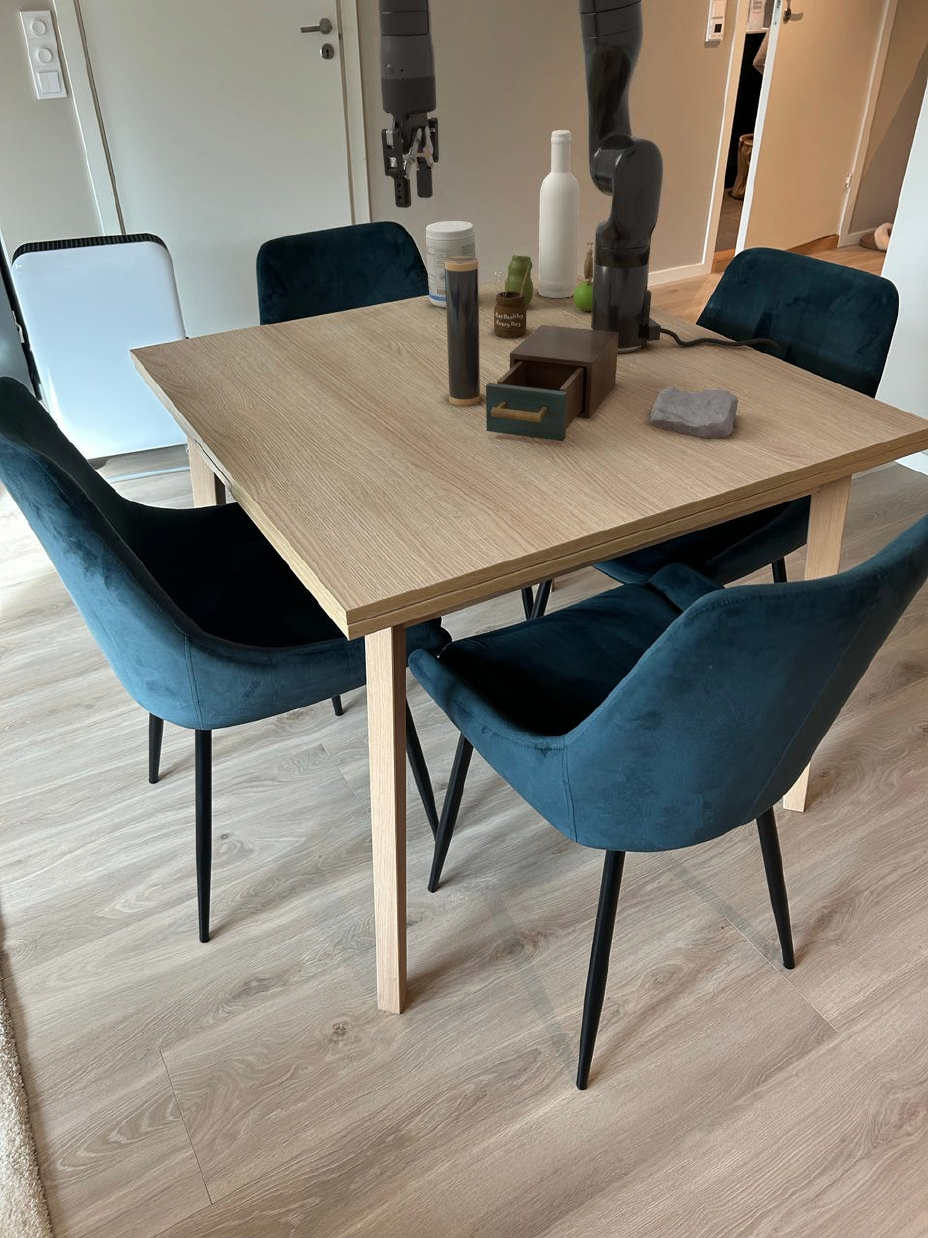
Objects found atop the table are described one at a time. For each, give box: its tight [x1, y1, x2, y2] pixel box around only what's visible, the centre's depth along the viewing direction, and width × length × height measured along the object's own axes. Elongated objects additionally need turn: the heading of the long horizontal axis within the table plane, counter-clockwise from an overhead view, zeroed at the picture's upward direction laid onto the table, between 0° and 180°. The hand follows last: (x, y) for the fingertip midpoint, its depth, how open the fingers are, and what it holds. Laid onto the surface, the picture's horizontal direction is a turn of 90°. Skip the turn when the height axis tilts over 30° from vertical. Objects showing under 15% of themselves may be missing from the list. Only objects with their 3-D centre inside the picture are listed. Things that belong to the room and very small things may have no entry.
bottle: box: [537, 129, 581, 299], centre depth 192 cm, size 8×8×30 cm
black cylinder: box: [444, 256, 482, 407], centre depth 146 cm, size 5×5×21 cm
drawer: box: [485, 360, 587, 442], centre depth 138 cm, size 17×11×7 cm, turn 158°
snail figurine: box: [572, 241, 594, 312], centre depth 186 cm, size 5×6×12 cm
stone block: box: [650, 386, 739, 439], centre depth 140 cm, size 12×5×10 cm
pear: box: [504, 254, 534, 307], centre depth 190 cm, size 6×5×10 cm
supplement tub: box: [425, 220, 476, 309], centre depth 192 cm, size 10×10×15 cm
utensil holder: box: [493, 265, 529, 339], centre depth 175 cm, size 6×6×12 cm
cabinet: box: [509, 324, 619, 420], centre depth 149 cm, size 15×13×9 cm
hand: (414, 201), depth 142 cm, fingers open, 7 cm apart
